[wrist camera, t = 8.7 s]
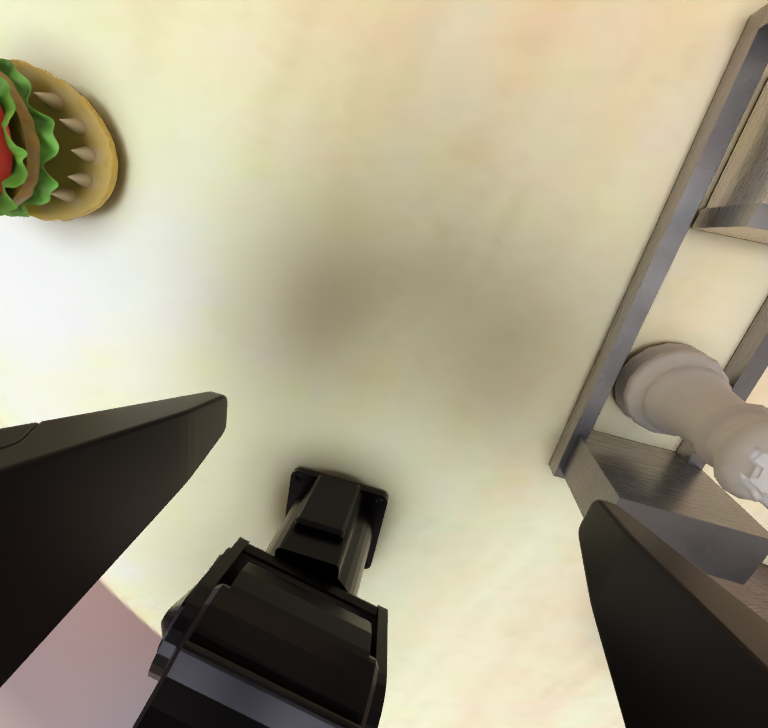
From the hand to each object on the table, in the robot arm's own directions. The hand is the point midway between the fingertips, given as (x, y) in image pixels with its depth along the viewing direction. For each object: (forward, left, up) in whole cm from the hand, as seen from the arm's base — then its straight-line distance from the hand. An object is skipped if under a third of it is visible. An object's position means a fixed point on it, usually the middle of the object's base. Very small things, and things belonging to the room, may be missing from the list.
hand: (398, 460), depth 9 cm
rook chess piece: (0, -12, -12) cm, 17 cm away
